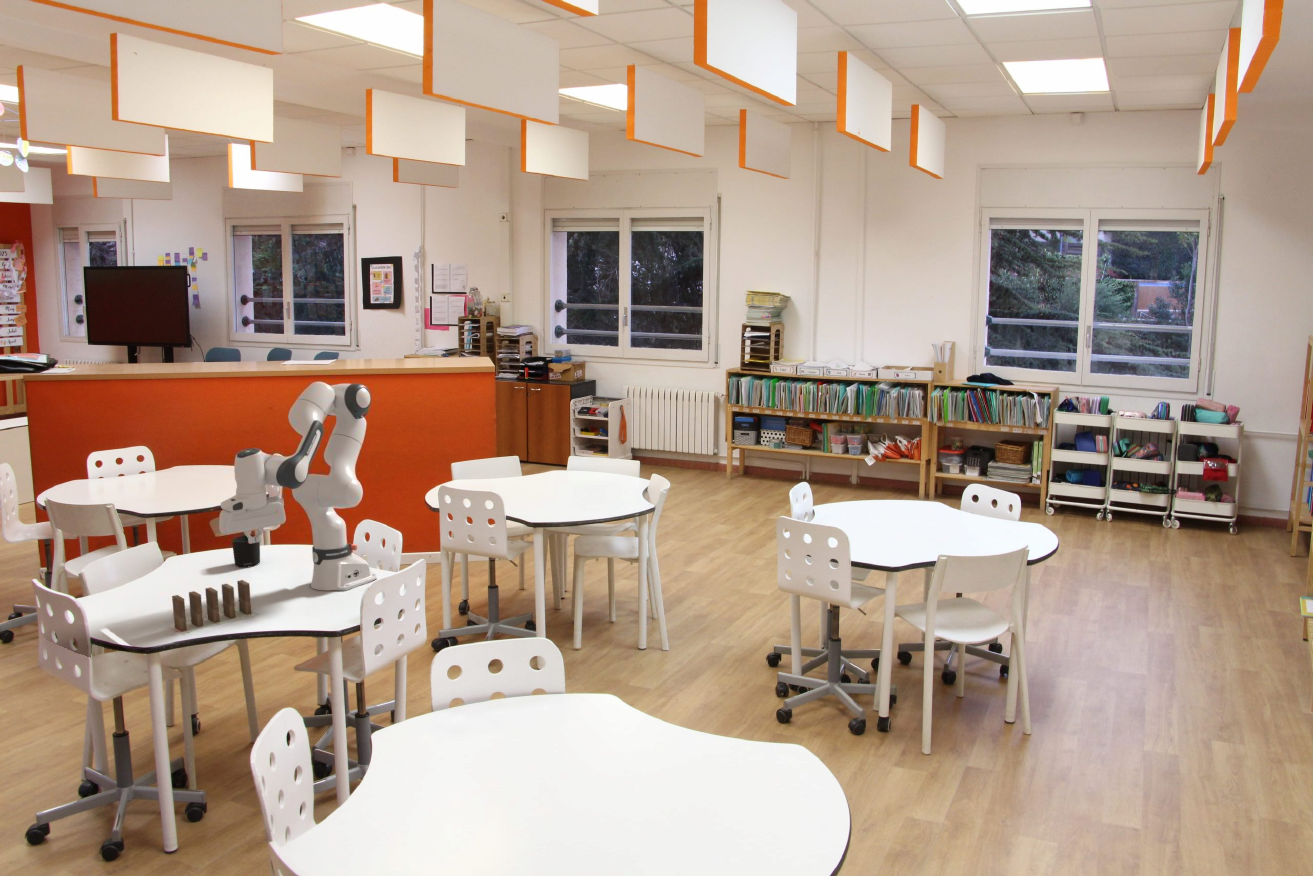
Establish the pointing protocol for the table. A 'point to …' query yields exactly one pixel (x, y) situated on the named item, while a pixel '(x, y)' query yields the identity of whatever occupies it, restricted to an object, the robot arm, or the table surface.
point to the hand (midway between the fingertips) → (254, 542)
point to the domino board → (209, 623)
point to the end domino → (179, 613)
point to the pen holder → (245, 551)
